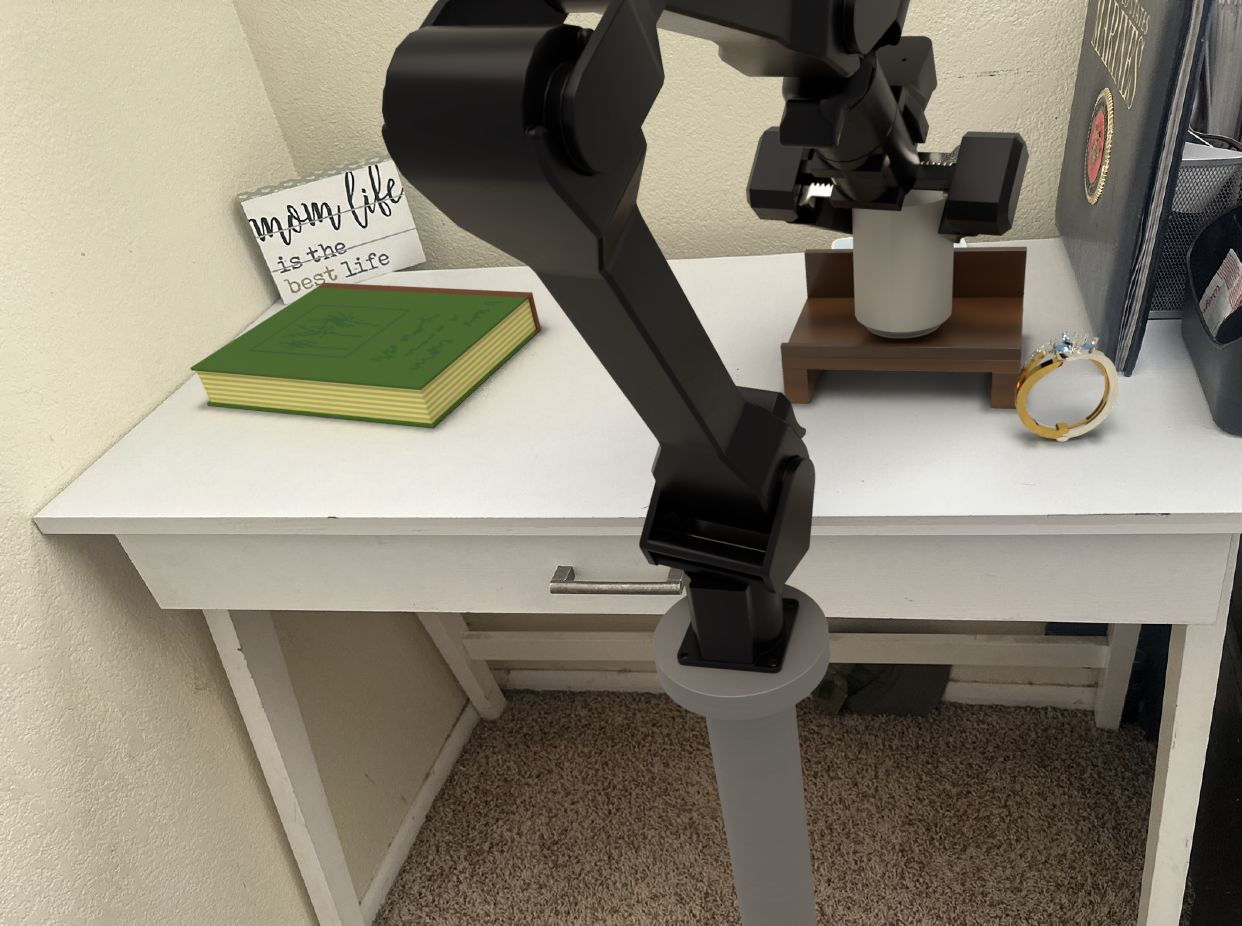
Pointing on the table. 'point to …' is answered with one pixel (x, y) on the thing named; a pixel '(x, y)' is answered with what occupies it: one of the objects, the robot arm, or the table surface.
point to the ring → (1064, 351)
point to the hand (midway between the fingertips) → (909, 233)
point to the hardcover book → (371, 352)
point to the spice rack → (963, 343)
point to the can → (902, 267)
